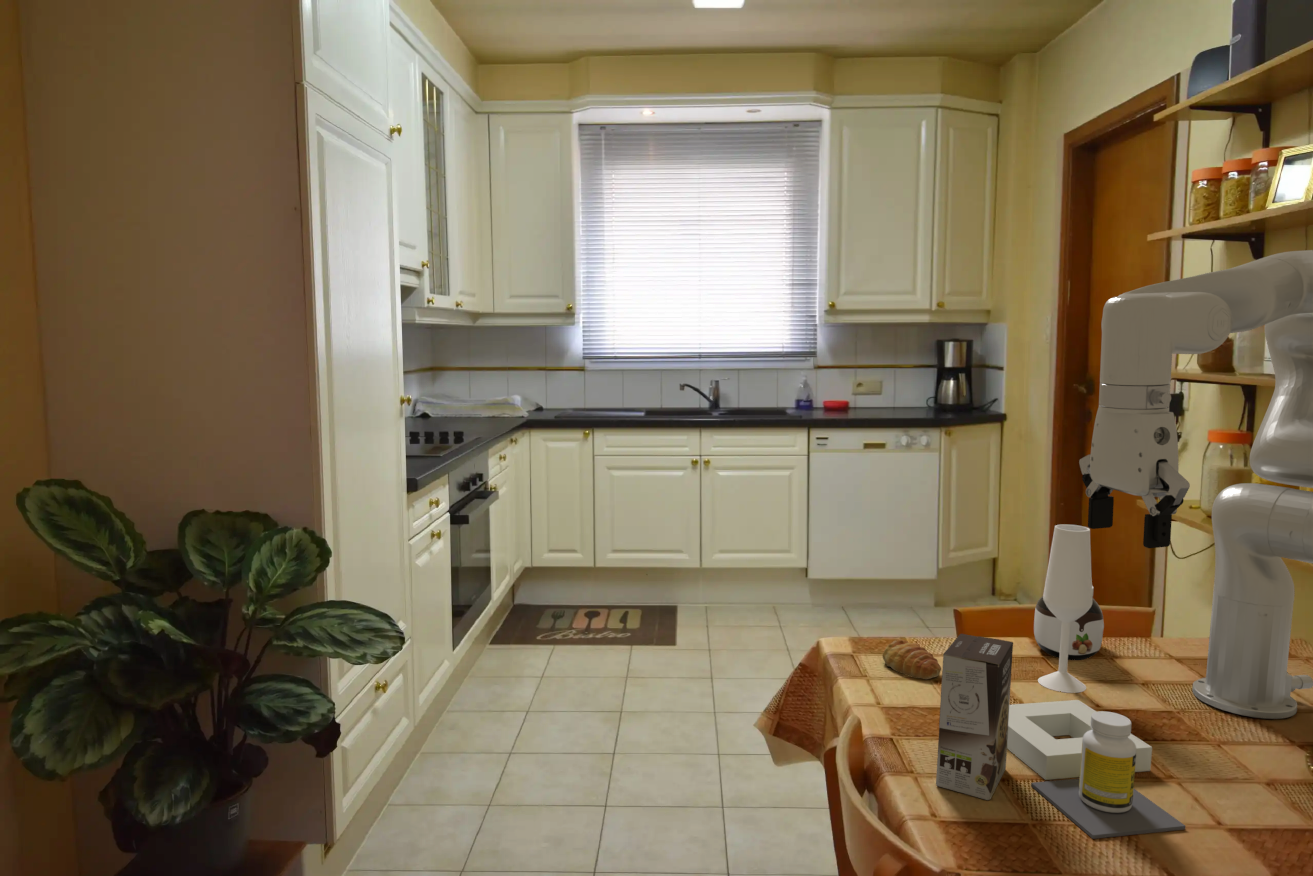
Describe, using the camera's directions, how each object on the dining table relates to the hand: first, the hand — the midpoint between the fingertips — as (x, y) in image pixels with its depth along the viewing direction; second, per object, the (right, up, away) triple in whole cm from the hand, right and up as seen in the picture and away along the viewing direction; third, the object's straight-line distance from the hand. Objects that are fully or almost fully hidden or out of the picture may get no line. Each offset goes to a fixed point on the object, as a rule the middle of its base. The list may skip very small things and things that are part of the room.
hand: (1127, 536), depth 110 cm
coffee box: (-21, -28, -4) cm, 35 cm away
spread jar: (+11, -23, +39) cm, 47 cm away
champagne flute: (+3, -25, +25) cm, 35 cm away
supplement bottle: (-8, -29, -10) cm, 31 cm away
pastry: (-18, -24, +31) cm, 43 cm away
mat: (-8, -29, -10) cm, 32 cm away
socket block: (-6, -27, +4) cm, 28 cm away
